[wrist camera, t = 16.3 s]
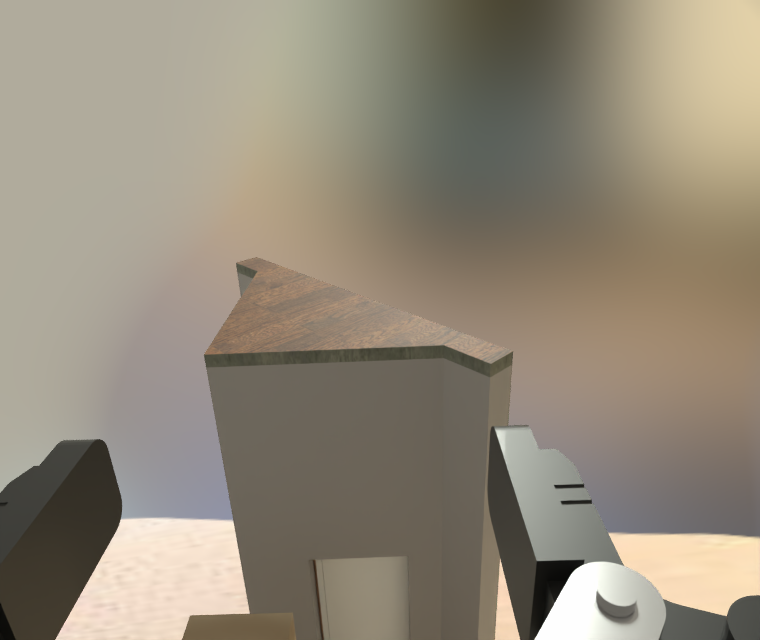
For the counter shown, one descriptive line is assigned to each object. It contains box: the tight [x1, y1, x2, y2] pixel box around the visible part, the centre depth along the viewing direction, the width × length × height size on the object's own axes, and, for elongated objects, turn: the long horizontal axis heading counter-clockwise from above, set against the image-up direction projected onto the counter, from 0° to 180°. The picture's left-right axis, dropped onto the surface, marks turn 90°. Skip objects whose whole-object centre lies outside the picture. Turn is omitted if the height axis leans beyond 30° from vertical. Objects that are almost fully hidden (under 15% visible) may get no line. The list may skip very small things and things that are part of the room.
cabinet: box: [204, 257, 513, 640], centre depth 35 cm, size 21×10×28 cm, turn 43°
